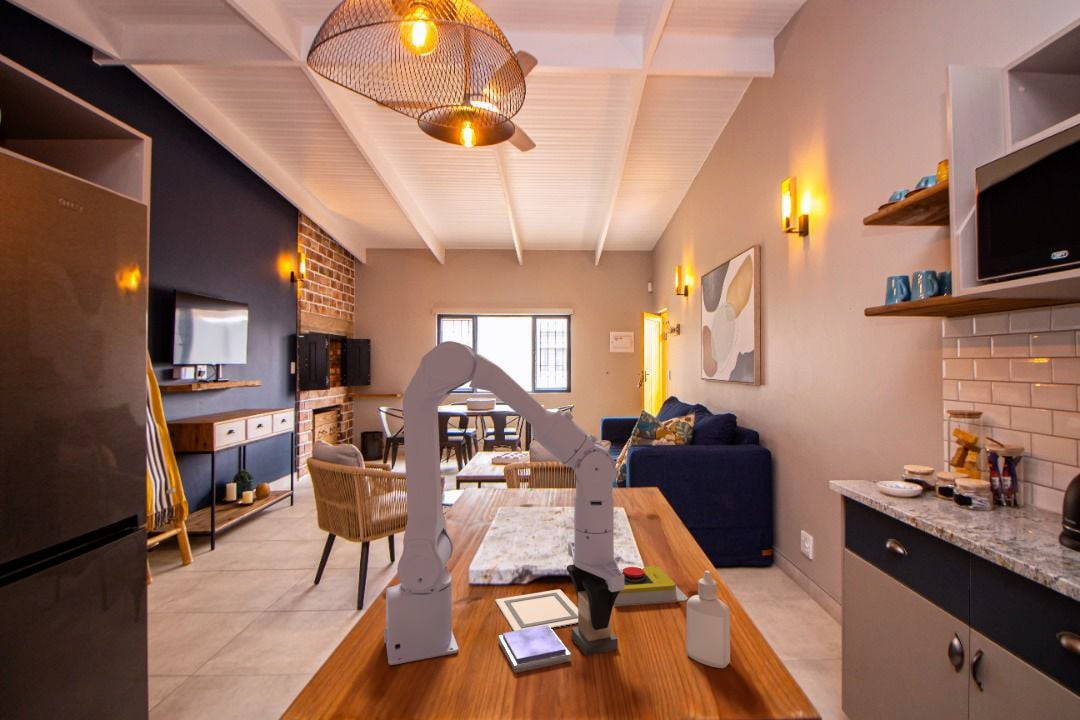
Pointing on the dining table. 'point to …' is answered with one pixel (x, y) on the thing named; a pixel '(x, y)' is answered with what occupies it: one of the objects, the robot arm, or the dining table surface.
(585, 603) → the stamp
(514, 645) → the ink pad
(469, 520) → the dining table surface
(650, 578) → the emergency button
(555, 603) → the marked card
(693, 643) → the eye dropper bottle
